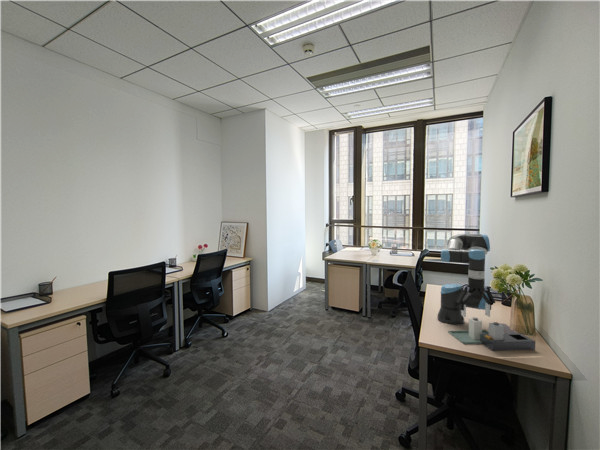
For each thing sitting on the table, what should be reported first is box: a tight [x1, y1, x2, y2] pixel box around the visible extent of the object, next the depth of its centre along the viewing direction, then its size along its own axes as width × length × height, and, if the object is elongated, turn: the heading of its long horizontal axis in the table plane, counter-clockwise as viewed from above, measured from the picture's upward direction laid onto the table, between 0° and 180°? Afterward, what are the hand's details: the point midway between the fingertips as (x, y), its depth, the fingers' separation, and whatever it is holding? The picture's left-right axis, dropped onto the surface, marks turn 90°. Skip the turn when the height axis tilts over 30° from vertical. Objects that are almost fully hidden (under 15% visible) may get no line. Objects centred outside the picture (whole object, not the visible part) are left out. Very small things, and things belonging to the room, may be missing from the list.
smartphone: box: [498, 322, 518, 334], centre depth 163 cm, size 7×1×15 cm
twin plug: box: [488, 321, 504, 340], centre depth 141 cm, size 4×4×11 cm
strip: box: [480, 332, 536, 352], centre depth 141 cm, size 9×22×6 cm, turn 92°
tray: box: [448, 329, 489, 345], centre depth 151 cm, size 14×22×2 cm, turn 92°
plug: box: [468, 317, 483, 339], centre depth 151 cm, size 4×4×11 cm
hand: (475, 315), depth 150 cm, fingers open, 13 cm apart
